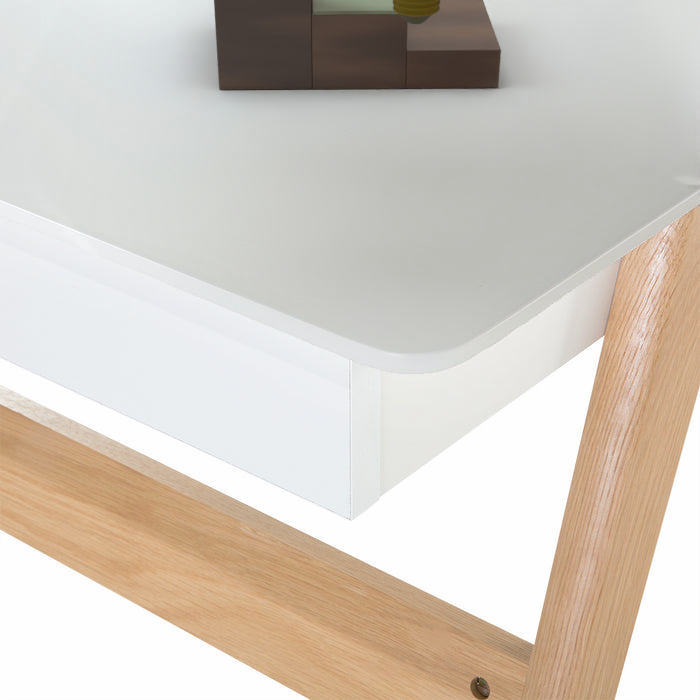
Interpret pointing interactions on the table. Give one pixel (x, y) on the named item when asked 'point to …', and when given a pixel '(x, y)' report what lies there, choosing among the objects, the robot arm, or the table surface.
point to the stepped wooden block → (353, 45)
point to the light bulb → (416, 9)
